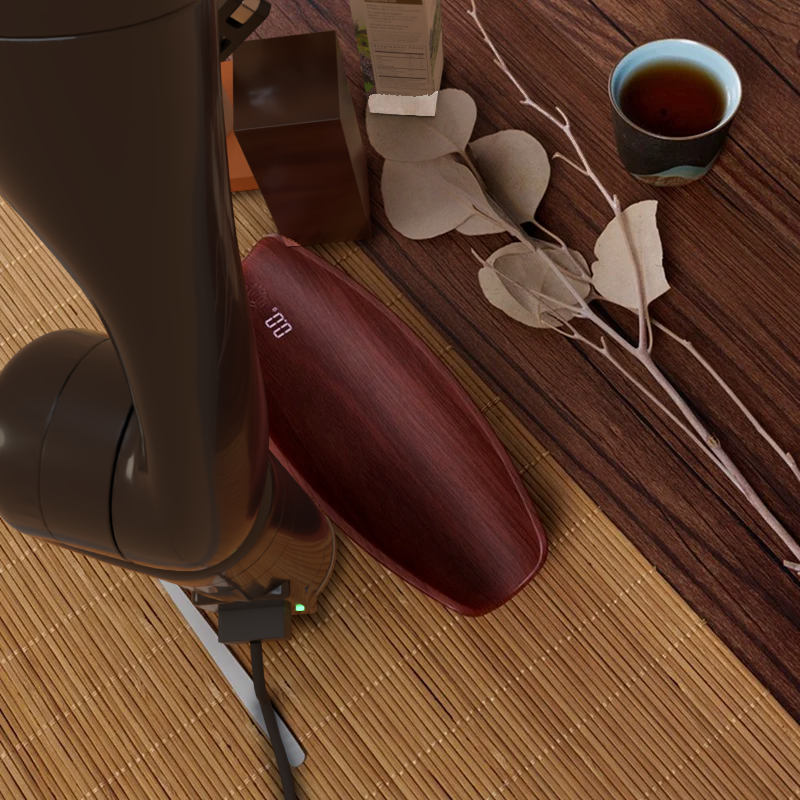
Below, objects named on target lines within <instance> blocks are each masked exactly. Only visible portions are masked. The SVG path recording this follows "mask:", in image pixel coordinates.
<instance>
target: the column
mask: <svg viewBox="0 0 800 800" xmlns="http://www.w3.org/2000/svg"><path fill="white" fill-rule="evenodd" d="M232 61H233V132H234V134H235V136H236V139H237V141H238V143H239V145H240V147H241V150H242V152H243V154H244V156H245V158H246V161H247V163H248V165H249V167H250V169H251V172H252V174H253V176H254V178H255V181H256V183H257V185H258V187H259V189H258V190H259V191H260V194H261V196H262V198H263V200H264V203H265V205H266V207H267V209H268V211H269V213H270V216H271V218H272V220H273V222H274V225H275V227H276V228H277V231H278V233H279V236H280V235H283V236H285V237H287V238H290V239H292V240H294V241H295V242H297V243H298V244H300V245H302V246H301V247H305V246H314V245H325V244H326V245H327V244H334V243H336V244H337V243H344V242H354V241H363V240H371V239H372V223H371V221H372V220H371V207H370V190H369V189H370V188H369V173H368V162H367V158H366V153H365V149H364V145H363V141H362V136H361V132H360V128H359V124H358V123H359V122H358V119H357V115H356V110H355V106H354V102H353V97H352V93H351V89H350V86H349V80H348V76H347V72H346V68H345V63H344V60H343V55H342V51H341V47H340V41H339V38H338V34H337V29H333V30H332V29H331V30H324V31H323V30H322V31H315V32H308V33H307V32H306V33H297V34H292V35H281V36H273V37H267V38H257V39H250V40H245V41H244V42H243V43H242V44H241V45H240V46H239V47H238V48H237V49H236V50H235V51H234V52H233V53H232Z"/></svg>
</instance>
